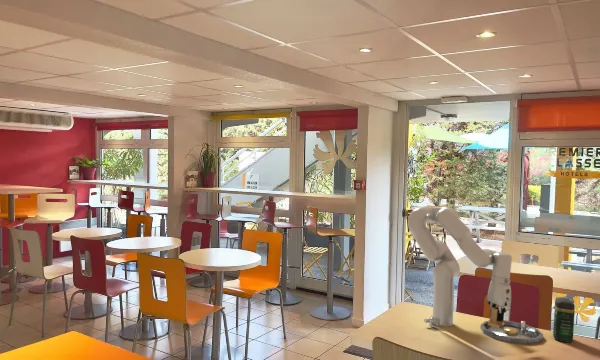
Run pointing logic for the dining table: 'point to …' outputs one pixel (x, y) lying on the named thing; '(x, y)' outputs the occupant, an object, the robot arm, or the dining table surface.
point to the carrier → (513, 333)
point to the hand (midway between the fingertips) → (496, 318)
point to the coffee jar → (564, 320)
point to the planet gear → (495, 318)
